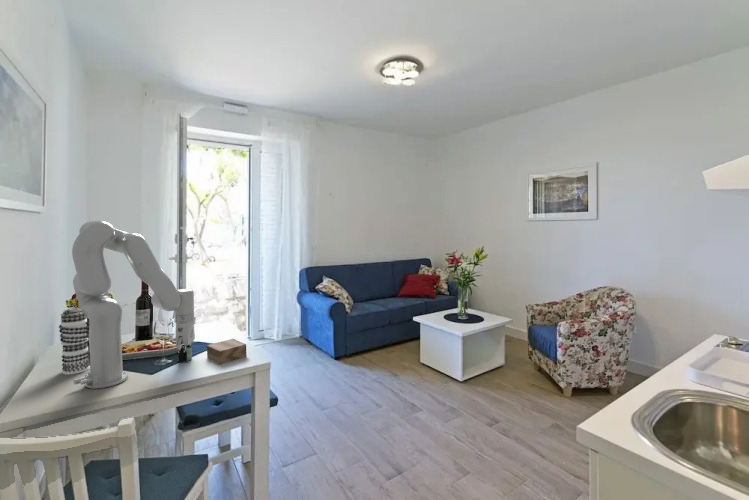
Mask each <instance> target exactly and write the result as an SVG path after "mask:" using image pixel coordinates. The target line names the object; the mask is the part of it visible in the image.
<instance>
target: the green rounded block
mask: <svg viewBox="0 0 749 500" xmlns="http://www.w3.org/2000/svg"><path fill="white" fill-rule="evenodd" d="M192 349H193V348H192V347H191V348H190V347H186V352H187V361H181V363H182V362H189V361H191V360H193V351H192Z"/></svg>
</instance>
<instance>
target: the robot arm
mask: <svg viewBox="0 0 749 500" xmlns="http://www.w3.org/2000/svg"><path fill="white" fill-rule="evenodd" d="M80 226H81V227H80V228H79V230H78V231H79V233H78V235H77V236H76V238H75V240H74V242H73V245H72V248H71V255H72V260H73V264H74V269H75V273H76V274H75V275H74V277H73V281H72V285H73V289H74V293H75V295H76V298H77V301H78V304H79V308H81V311H82V313H83V314H84V315H85V316H86V318H87V320H88V322H89V323H88V327H89V328H88V330H89V332H88V335H89V337H88V339H89V340H88V343H89V346H88V351H89V359H90V361H89V363H90V365H89V366H90V368H89V370H90V371H88V372H87V374H86V375H84V376H82V377H77V378H74V379H73V384H74V385H79V384H81V385H85V387H86V388H88V389H95V390H96V389H97V390H98V389H104V388H109V387H114V386H116V385H119V384H121V383H124V382H125V381H126V380H127V379H128V378H129V374H128V373H127V372H126V371H124V370H123V369H124V368H123V347H122V345H123V344H122V321H123V320H122V319H123V309H122V306H121V304H120V303H119V302H118V301H117V300H116V299H113V298H111V297H110V293H109V290H110V289H111V287H112V280H111V277H110V274H109V271H108V267H107V265H106V261H105V255H104V249H108V250H110V251H113V252H116V253H121V254H124V256H125V258H126V259H127V261H128V264H129V265H130V266H131V268H132V269H133V271H134V273H135V275H136V276H137V278H139V280H141V282H143V283H144V284H146V285H148V287H149V288H150V289H151V290H152V292H153V294H152V296H151V297H150V301H151V304H152V306H153V307H155V308H157V309H160V310H163V311H166V312H173V313H174V315H173V317H174V318H173V319H174V320H173V321H174V323H175V325H176V326H175V345H176V349H177V352H178V353H177V357H178V358H177V360H178V361H177V362H181V361H185V362H188V361H187V352H186V347H190V348H192V342H193V341H195V339H196V334H195V322H194V321H195V303H194V302H195V299H194V298H195V297H194V296H195V294H194V290H193V289H190V288H180V289H177V288H176V286H175V284H174V282H173V281H172V280H171V278H170V277H169V276H168V275H167V273H166V272H165V271H164V269H163V268H162V267H161V265H160V264H159V262H158V260H157V258H156V256H155V255H154V253H153V250H151V248H150V246H149V243H148V241H147V240H146V239H145V237H144V236H143V235H141V234H140V233H134V232H128V231H127V232H126V231H124V230H121V229H118V228H115V227H114V226H113V225H112V224H111V223H110V222H107V221H105V220H91V221H87V222H85V223H84V224H82V225H80ZM181 363H182V362H181Z"/></svg>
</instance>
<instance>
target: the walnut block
mask: <svg viewBox="0 0 749 500" xmlns="http://www.w3.org/2000/svg"><path fill="white" fill-rule="evenodd" d="M206 358H207V359H208V360H211V361H213V362H214V363H216V364H218V365H221V366H222V365H223V364H227V363H230V362H233V361H237V360H241V359H244V358H247V343H244V342H242V341H239V340H238V339H235V338H230V339H226V340H223V341H219V342H214V343H210V344H207V345H206Z"/></svg>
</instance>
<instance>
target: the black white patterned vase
mask: <svg viewBox="0 0 749 500" xmlns="http://www.w3.org/2000/svg"><path fill="white" fill-rule="evenodd" d="M60 318H61V319H60V325H58V328H59V330H58V331H59V333H60V335H59V337H60V339H59V340H60V342H61V344H60V345H62V350H61V351H62V352H61V353H62V354H61V358H62V359H61V362H62V364H61V366H62V374H63V375H75V374H79V373H80V374H81V373H83V372H86V371H88V370H90V350H89V346H88V342H89V320H88V318H87V317H86V316H85V315H84V314H83V313H82V311H81V308H80V307H73V308H68V309H67V308H66V309H64V311H63V312H62V313H60Z"/></svg>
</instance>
